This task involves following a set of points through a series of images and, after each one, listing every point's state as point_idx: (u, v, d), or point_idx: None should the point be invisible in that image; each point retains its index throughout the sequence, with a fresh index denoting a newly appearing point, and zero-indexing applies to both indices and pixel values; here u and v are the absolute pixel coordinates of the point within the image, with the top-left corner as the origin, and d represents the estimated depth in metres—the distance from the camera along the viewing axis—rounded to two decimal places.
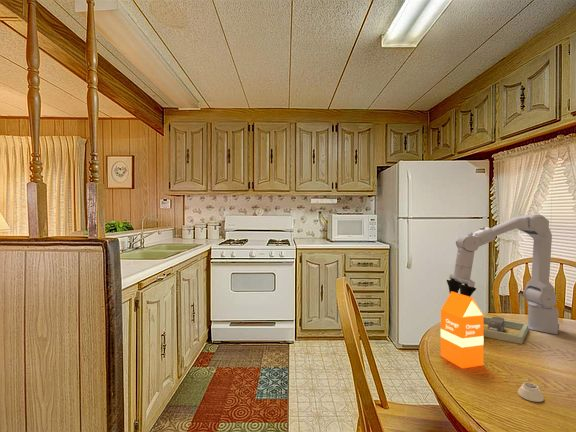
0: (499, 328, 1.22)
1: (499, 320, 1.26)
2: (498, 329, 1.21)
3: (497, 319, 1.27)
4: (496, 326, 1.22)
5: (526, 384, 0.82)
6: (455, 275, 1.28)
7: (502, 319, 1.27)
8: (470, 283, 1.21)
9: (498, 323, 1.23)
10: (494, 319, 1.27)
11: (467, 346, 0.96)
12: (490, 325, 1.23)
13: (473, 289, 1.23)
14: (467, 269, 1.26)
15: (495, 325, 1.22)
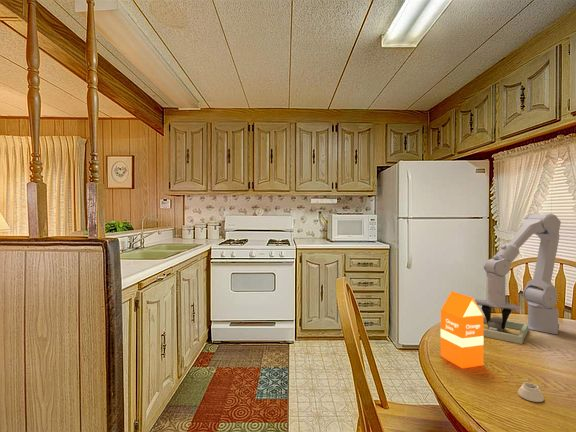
0: (499, 328, 1.22)
1: (499, 320, 1.26)
2: (498, 329, 1.21)
3: (497, 319, 1.27)
4: (496, 326, 1.21)
5: (526, 384, 0.82)
6: (496, 302, 1.24)
7: None
8: (519, 308, 1.21)
9: (498, 323, 1.23)
10: (494, 319, 1.27)
11: (467, 345, 0.96)
12: (490, 325, 1.23)
13: None
14: None
15: (495, 325, 1.22)
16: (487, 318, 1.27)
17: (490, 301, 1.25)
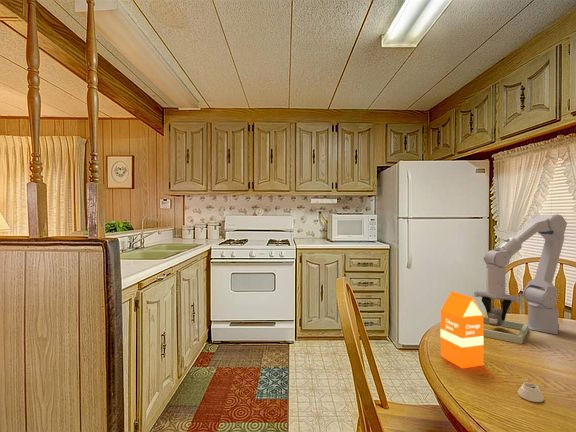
0: (499, 319, 1.22)
1: (499, 311, 1.26)
2: (498, 320, 1.21)
3: (497, 310, 1.27)
4: (496, 317, 1.21)
5: (526, 384, 0.82)
6: (496, 294, 1.24)
7: None
8: (519, 299, 1.21)
9: (498, 314, 1.23)
10: (494, 310, 1.27)
11: (467, 345, 0.96)
12: (490, 316, 1.23)
13: None
14: None
15: (495, 316, 1.22)
16: (487, 309, 1.27)
17: (490, 292, 1.25)
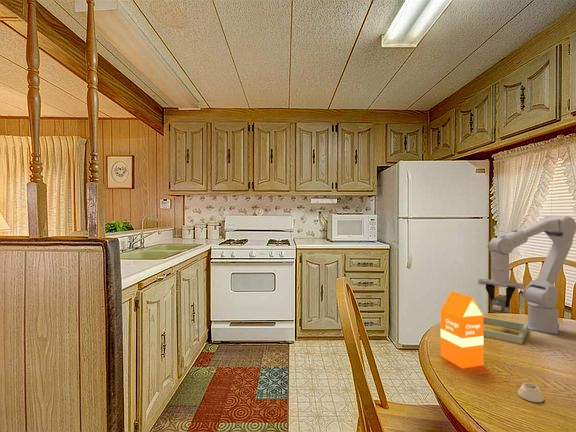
0: (503, 306, 1.22)
1: (503, 298, 1.26)
2: (502, 307, 1.22)
3: (501, 298, 1.28)
4: (500, 304, 1.22)
5: (526, 384, 0.82)
6: (500, 281, 1.24)
7: None
8: (523, 286, 1.21)
9: (502, 301, 1.23)
10: (498, 298, 1.28)
11: (467, 345, 0.96)
12: (494, 303, 1.23)
13: (514, 290, 1.25)
14: None
15: (499, 303, 1.22)
16: (491, 297, 1.27)
17: (494, 279, 1.26)
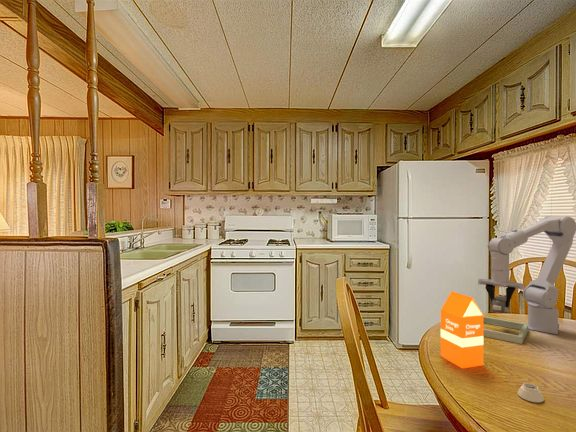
0: (503, 306, 1.22)
1: (503, 298, 1.26)
2: (502, 307, 1.22)
3: (501, 298, 1.28)
4: (500, 304, 1.22)
5: (526, 385, 0.82)
6: (500, 281, 1.24)
7: None
8: (523, 286, 1.21)
9: (502, 301, 1.23)
10: (498, 298, 1.28)
11: (467, 345, 0.96)
12: (494, 303, 1.23)
13: (514, 290, 1.25)
14: None
15: (499, 303, 1.22)
16: (491, 297, 1.27)
17: (494, 279, 1.26)
